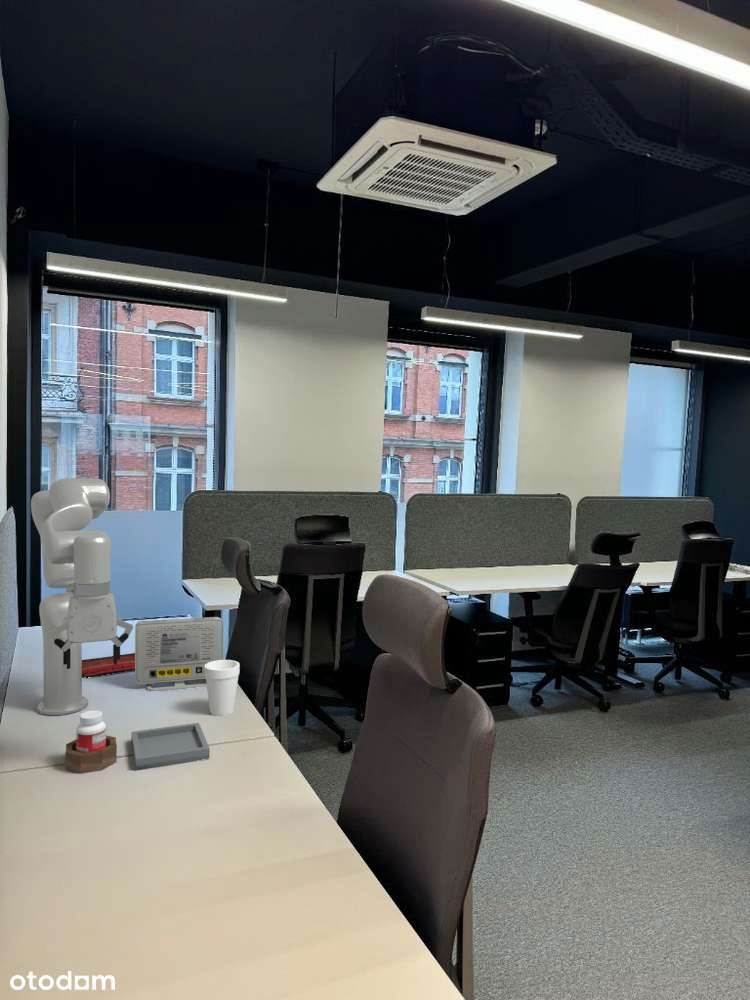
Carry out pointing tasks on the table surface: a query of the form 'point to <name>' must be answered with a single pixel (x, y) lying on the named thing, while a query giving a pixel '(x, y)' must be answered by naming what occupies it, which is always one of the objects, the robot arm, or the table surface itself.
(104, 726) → the pill bottle
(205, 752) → the tray
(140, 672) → the network device
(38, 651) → the table surface
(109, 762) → the holder ring
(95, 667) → the binder
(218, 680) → the foam cup
